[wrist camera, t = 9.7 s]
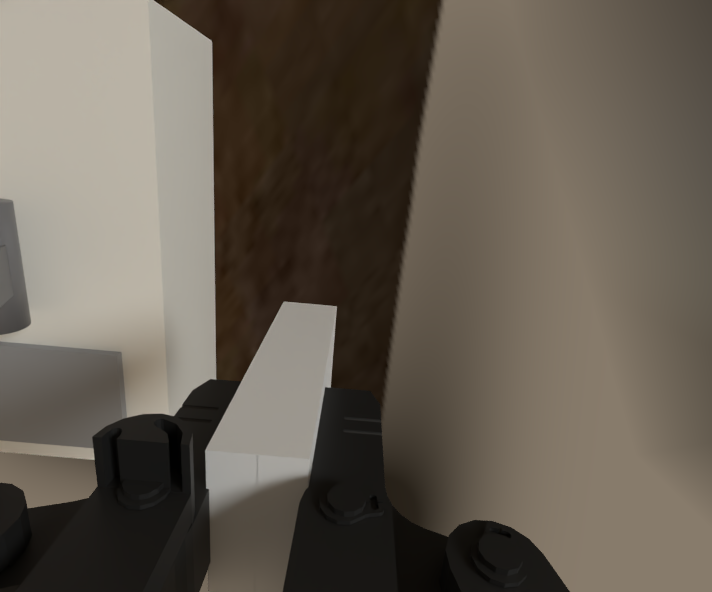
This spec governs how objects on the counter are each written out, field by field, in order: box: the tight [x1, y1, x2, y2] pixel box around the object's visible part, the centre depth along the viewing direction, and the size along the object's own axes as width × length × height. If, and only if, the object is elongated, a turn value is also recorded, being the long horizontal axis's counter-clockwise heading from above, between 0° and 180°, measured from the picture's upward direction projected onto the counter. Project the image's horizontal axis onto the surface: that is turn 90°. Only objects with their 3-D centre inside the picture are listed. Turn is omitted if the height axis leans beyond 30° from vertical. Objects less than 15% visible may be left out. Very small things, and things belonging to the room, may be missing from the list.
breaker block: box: [0, 0, 216, 460], centre depth 22 cm, size 20×12×7 cm, turn 175°
